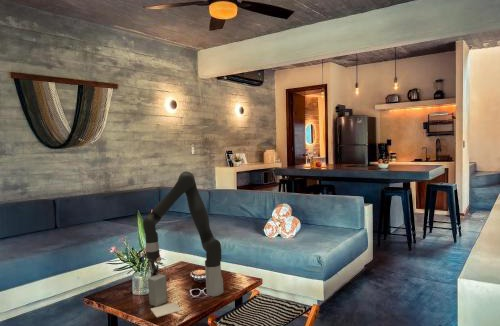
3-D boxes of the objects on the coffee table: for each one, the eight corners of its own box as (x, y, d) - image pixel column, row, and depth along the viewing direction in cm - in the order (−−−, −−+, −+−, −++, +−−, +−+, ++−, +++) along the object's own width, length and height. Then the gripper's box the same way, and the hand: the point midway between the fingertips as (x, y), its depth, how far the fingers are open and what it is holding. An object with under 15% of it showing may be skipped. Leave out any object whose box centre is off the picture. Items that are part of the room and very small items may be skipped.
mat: (175, 302, 216) (175, 302, 216) (182, 310, 206) (182, 309, 206) (150, 309, 209) (150, 308, 209) (156, 317, 199) (156, 316, 199)
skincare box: (160, 299, 222) (159, 272, 221) (168, 302, 218) (166, 275, 217) (148, 304, 216) (146, 277, 215) (156, 307, 211) (154, 279, 210)
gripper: (162, 250, 216) (164, 280, 217) (155, 245, 228) (157, 274, 229) (148, 253, 213) (151, 283, 214) (143, 248, 224) (145, 277, 225)
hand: (154, 278), depth 221 cm, fingers closed
